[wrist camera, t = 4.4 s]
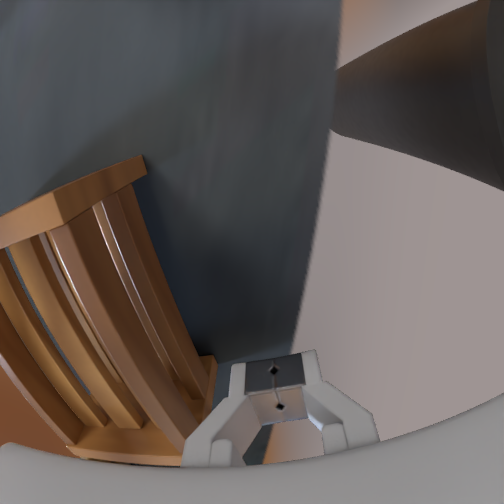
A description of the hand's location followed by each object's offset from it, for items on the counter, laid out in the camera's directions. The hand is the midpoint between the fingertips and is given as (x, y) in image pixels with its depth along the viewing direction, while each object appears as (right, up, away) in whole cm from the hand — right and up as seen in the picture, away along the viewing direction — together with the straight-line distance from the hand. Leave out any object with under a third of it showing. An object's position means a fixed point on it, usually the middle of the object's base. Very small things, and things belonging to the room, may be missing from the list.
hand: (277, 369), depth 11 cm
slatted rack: (-10, +2, +10) cm, 14 cm away
